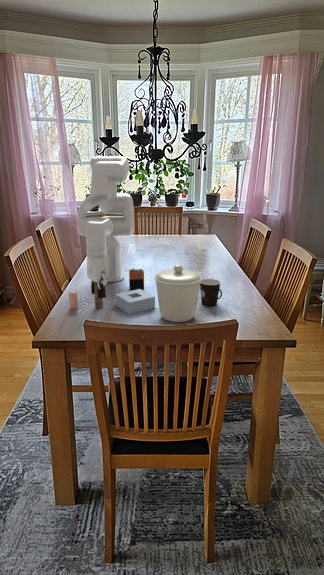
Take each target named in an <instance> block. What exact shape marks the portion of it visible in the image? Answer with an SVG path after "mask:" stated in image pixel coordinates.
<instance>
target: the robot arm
mask: <svg viewBox="0 0 324 575" xmlns="http://www.w3.org/2000/svg"><path fill="white" fill-rule="evenodd" d="M89 166H90V169H91V178H90V179H91V180H90V181H91V182H90V193H89V195H87V197H85V199H84V200H83V201H82V202H81V204H80V206H79V208H78V210H77V220H76V230H77V232H78V234H79V235H80V236H81V237H82V236H83V237H85V241H86V245H85V246H86V257H87V258H86V276H87V278H88V279H89V280H90V287H91V295H95V292H94V282H96V283H98V288H99V289H98V298H99V299H100V298H103V299H104V298H106V296H107V294H106V293H107V292H106V289H107V284H108V283H114V282H120V281H122V280H124V278H125V276H124V274H122V273H121V245H120V242H119V241H118V239H117V238H116V237H130V236H132V235H133V234H134V231H135V219H134V218H135V215H134V200H133V196H132V195H131V194H130V193H118V187H117V186H118V185H117V184H118V183H124V182H125V181H126V180H127V177H128V174H129V172H130V162H129V159H128V158H127V157H126V156H110V155H108V156H94V157H91V158H90V161H89ZM97 206H99V209H100V211H101V213H103V214H108V215H106V216H102V217H96V216H91V217H89V216H88V217H87V214H88V213H89V211H90V210H92V209H93V208H95V207H97ZM109 214H110V216H109ZM111 214H112V215H111ZM114 214H115V215H114ZM120 214H121V216H120ZM117 215H118V216H117ZM101 279H102V281H100V280H101ZM100 283H102V284H101V285H100Z"/></svg>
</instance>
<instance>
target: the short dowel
mask: <svg viewBox="0 0 324 575" xmlns="http://www.w3.org/2000/svg"><path fill="white" fill-rule="evenodd" d="M68 299H69V300H68V301H69V310H70V311H76V310H78V309H79V307H78V306H79V304H78V292H77V291H76V290H72V291H68Z"/></svg>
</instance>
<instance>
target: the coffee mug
mask: <svg viewBox="0 0 324 575" xmlns="http://www.w3.org/2000/svg"><path fill="white" fill-rule="evenodd" d="M199 291H200V302H201V305H202V306H203V307H206V308H214V307H216V306H217V305H218V300H220V299H221V298H222V296H223V292H222V289H221V280H219V279H215V278H204V279H203V278H202V281H200V288H199ZM219 294H220V296H219Z"/></svg>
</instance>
